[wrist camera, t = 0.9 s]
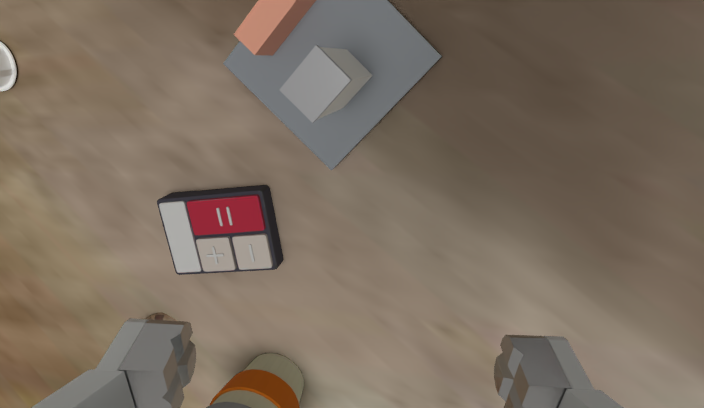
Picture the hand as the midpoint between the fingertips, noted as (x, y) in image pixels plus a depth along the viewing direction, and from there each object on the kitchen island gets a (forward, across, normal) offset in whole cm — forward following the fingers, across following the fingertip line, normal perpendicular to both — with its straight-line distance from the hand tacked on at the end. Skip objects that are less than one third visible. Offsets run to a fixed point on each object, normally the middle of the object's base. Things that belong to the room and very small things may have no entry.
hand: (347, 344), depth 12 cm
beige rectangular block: (+42, +1, +4) cm, 42 cm away
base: (+45, +3, +2) cm, 45 cm away
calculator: (+44, +16, +26) cm, 53 cm away
